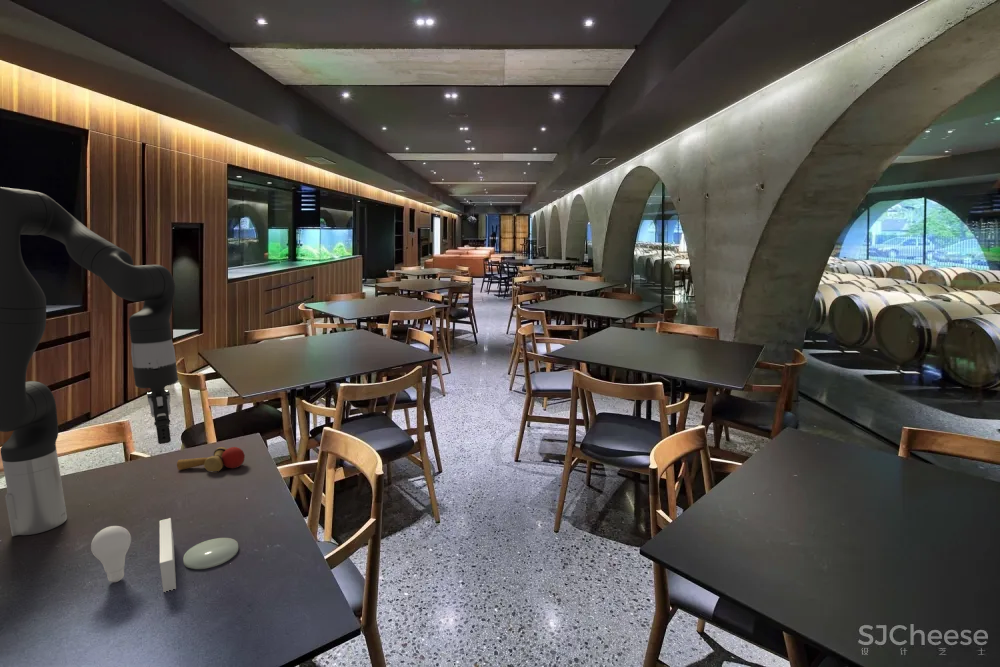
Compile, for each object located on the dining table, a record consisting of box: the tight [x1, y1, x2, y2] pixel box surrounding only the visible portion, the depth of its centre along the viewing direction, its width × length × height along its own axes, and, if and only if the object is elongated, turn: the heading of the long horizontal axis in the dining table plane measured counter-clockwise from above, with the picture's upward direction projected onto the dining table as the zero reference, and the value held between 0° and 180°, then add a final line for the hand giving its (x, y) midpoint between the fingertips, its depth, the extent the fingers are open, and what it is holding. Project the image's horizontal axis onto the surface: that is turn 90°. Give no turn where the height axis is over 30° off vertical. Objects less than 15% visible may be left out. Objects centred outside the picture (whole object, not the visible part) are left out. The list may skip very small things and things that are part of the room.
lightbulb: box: [90, 525, 132, 583], centre depth 100 cm, size 6×6×11 cm
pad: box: [183, 537, 239, 570], centre depth 109 cm, size 10×10×1 cm
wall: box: [159, 517, 177, 593], centre depth 105 cm, size 2×18×6 cm, turn 33°
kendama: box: [176, 446, 246, 472], centre depth 152 cm, size 8×6×18 cm
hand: (163, 436), depth 112 cm, fingers open, 8 cm apart
